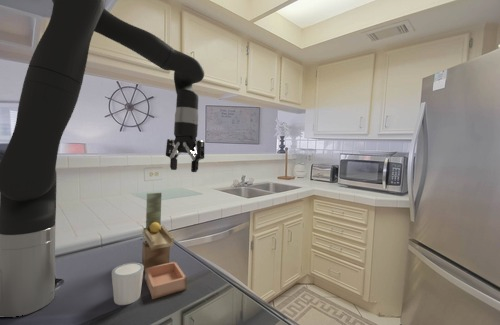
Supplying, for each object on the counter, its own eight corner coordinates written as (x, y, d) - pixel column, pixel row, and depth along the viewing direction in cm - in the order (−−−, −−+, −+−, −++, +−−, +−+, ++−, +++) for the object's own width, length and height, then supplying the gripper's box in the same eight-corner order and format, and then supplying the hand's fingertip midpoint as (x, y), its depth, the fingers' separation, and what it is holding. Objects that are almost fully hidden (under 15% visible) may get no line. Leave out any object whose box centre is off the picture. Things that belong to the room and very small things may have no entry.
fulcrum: (144, 271, 67) (145, 244, 67) (142, 264, 71) (142, 239, 71) (169, 265, 71) (169, 240, 71) (165, 259, 75) (166, 235, 75)
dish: (152, 299, 55) (152, 287, 55) (144, 278, 63) (145, 268, 63) (186, 289, 60) (186, 277, 59) (175, 271, 68) (175, 261, 68)
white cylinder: (129, 309, 51) (130, 278, 51) (103, 303, 53) (104, 273, 52) (149, 291, 58) (150, 264, 58) (125, 287, 59) (126, 260, 59)
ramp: (151, 249, 62) (152, 202, 62) (142, 232, 74) (143, 193, 74) (173, 245, 66) (175, 200, 65) (161, 230, 78) (162, 192, 77)
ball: (150, 234, 70) (150, 224, 70) (148, 231, 73) (148, 221, 73) (161, 233, 72) (161, 223, 72) (159, 230, 75) (159, 220, 75)
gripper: (161, 120, 77) (159, 169, 77) (197, 120, 71) (194, 173, 71) (177, 124, 83) (174, 168, 84) (210, 124, 78) (207, 172, 78)
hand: (183, 170), depth 78 cm, fingers open, 8 cm apart
